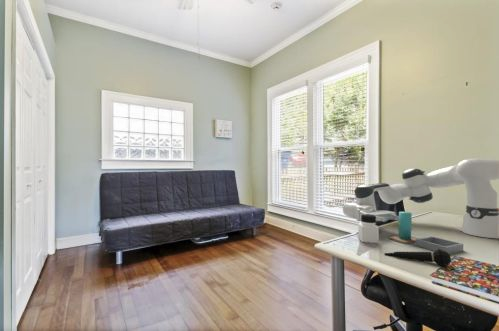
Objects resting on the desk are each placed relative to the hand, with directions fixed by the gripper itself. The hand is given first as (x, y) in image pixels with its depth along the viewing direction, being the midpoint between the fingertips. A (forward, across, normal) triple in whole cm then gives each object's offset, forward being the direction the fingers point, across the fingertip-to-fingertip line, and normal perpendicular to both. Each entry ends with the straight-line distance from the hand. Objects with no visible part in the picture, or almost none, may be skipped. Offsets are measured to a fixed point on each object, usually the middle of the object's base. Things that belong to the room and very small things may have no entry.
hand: (392, 219), depth 119 cm
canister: (+6, 0, -8) cm, 10 cm away
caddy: (+19, -2, -8) cm, 21 cm away
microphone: (+24, +20, -9) cm, 32 cm away
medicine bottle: (0, +17, -9) cm, 19 cm away
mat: (+6, 0, -8) cm, 10 cm away
